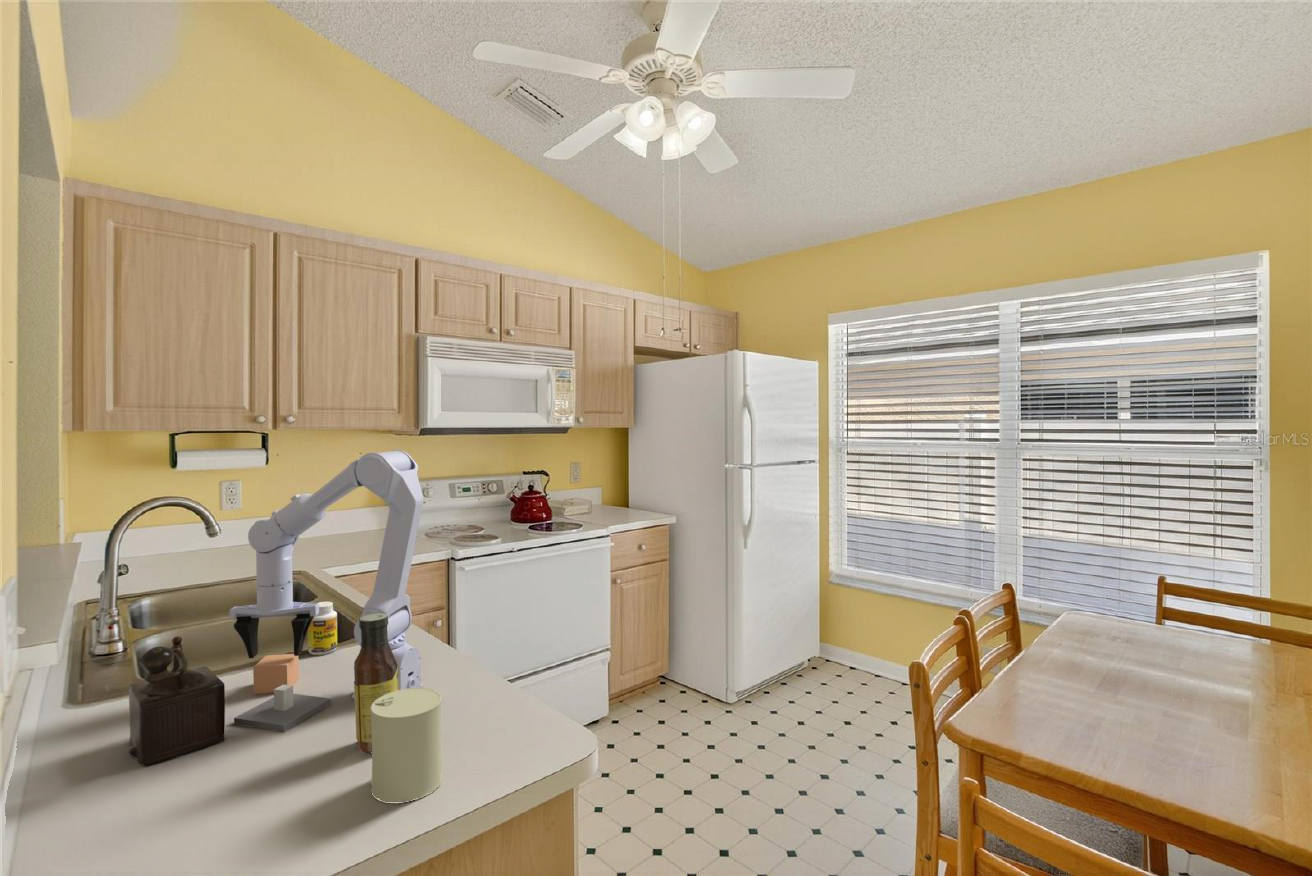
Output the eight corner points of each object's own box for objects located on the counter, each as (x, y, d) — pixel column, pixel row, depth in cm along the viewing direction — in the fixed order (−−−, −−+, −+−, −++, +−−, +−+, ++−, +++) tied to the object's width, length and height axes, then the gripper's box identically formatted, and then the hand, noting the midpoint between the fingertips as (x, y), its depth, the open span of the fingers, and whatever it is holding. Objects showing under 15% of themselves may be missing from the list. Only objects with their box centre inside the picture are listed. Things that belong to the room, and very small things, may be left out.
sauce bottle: (409, 740, 99) (407, 614, 99) (373, 759, 94) (371, 626, 93) (381, 730, 103) (380, 608, 102) (345, 747, 97) (344, 618, 97)
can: (384, 767, 92) (383, 685, 92) (449, 764, 93) (449, 683, 92) (360, 806, 83) (359, 715, 82) (433, 802, 84) (432, 712, 83)
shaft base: (330, 704, 112) (330, 678, 112) (284, 731, 102) (283, 704, 102) (283, 697, 114) (283, 672, 114) (234, 723, 104) (233, 696, 104)
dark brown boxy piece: (122, 745, 98) (119, 629, 97) (208, 719, 106) (205, 612, 105) (144, 784, 87) (141, 655, 87) (237, 753, 96) (235, 634, 95)
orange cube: (298, 679, 122) (298, 653, 122) (287, 691, 117) (286, 664, 116) (266, 681, 121) (266, 655, 121) (253, 694, 116) (253, 667, 115)
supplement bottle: (309, 658, 133) (308, 609, 132) (307, 649, 137) (306, 602, 137) (339, 652, 136) (338, 605, 135) (335, 644, 140) (335, 598, 140)
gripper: (324, 575, 123) (324, 645, 124) (241, 578, 121) (242, 649, 121) (311, 585, 116) (312, 658, 117) (223, 588, 114) (224, 663, 114)
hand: (275, 655), depth 119 cm, fingers open, 7 cm apart
